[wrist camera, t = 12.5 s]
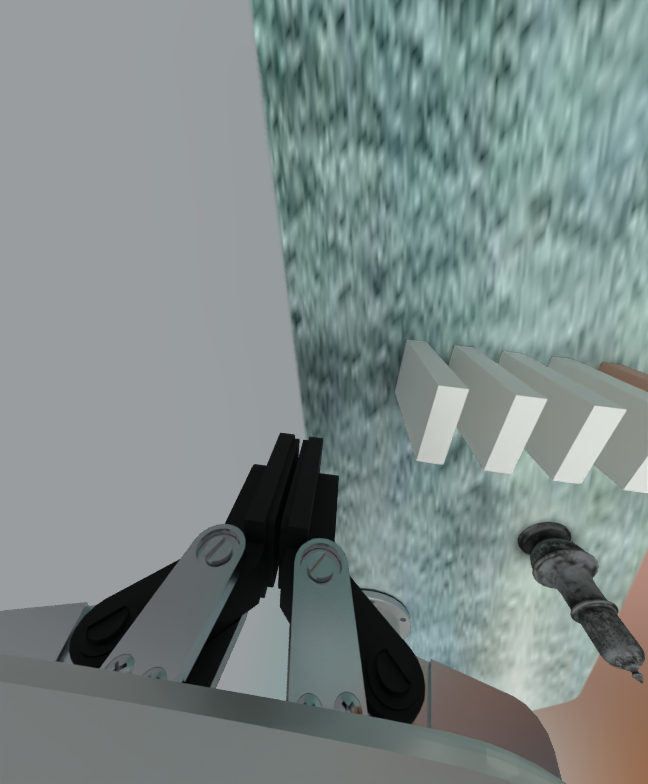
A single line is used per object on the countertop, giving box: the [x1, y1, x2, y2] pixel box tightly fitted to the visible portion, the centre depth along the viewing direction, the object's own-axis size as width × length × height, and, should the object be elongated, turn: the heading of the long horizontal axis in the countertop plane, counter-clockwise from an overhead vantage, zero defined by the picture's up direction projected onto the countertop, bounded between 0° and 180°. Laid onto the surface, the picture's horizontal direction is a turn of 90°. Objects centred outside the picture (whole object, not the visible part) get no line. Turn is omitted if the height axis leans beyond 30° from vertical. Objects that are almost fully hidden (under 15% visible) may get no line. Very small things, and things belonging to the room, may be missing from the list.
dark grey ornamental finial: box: [518, 522, 645, 683], centre depth 26 cm, size 6×6×12 cm
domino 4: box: [548, 357, 648, 493], centre depth 20 cm, size 5×2×10 cm, turn 174°
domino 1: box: [395, 339, 469, 465], centre depth 20 cm, size 5×2×10 cm, turn 174°
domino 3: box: [498, 351, 627, 484], centre depth 20 cm, size 5×2×10 cm, turn 175°
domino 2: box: [448, 345, 547, 474], centre depth 20 cm, size 5×2×10 cm, turn 174°
